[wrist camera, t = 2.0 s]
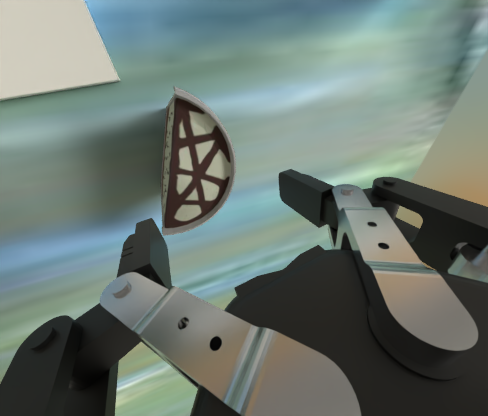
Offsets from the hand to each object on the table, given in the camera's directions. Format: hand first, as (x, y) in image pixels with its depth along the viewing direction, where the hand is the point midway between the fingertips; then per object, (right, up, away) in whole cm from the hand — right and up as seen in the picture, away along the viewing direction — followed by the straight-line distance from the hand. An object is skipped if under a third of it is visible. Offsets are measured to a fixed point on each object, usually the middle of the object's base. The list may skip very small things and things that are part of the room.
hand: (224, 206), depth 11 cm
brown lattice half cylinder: (-6, +7, +13) cm, 16 cm away
